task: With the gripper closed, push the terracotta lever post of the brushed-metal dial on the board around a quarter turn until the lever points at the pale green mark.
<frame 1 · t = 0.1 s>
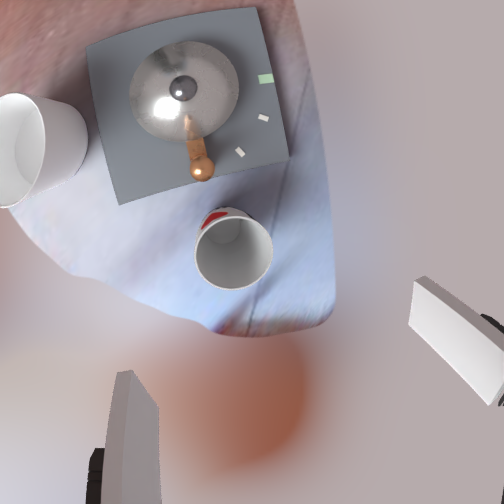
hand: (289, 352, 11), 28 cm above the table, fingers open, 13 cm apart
dial: (187, 105, 26), point 6 cm above the table, hinge at 0.0°
board: (184, 96, 30), on the table
cup 2: (52, 144, 28), on the table
cup: (222, 226, 38), on the table
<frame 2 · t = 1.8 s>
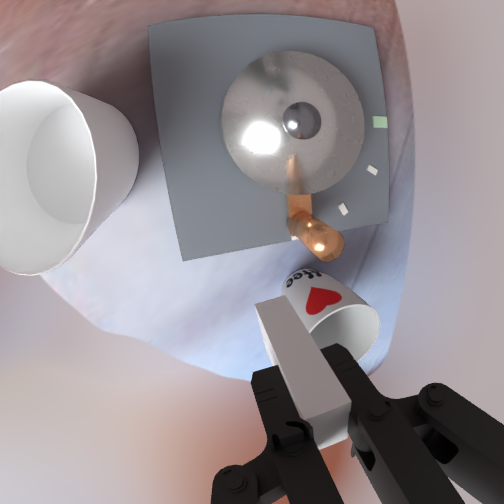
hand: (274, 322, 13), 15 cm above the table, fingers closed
dial: (307, 147, 20), point 6 cm above the table, hinge at 0.0°
board: (280, 123, 24), on the table
cup 2: (82, 161, 22), on the table
cup: (301, 288, 32), on the table
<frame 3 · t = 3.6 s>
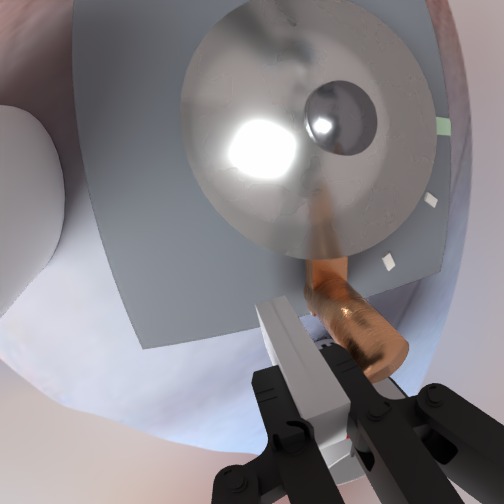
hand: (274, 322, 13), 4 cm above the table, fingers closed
dial: (352, 171, 10), point 6 cm above the table, hinge at 0.1°, touching gripper
board: (294, 123, 14), on the table
cup: (318, 360, 22), on the table
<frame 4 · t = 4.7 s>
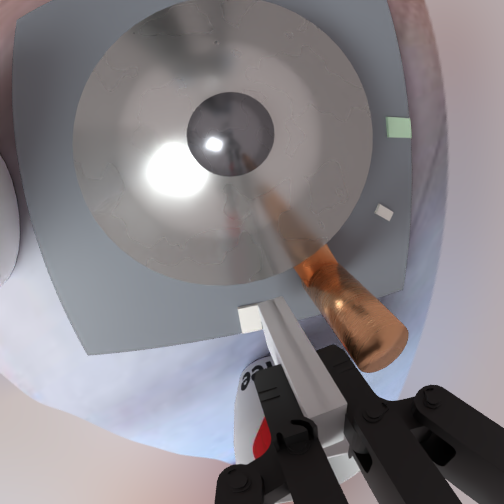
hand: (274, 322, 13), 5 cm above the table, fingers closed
dial: (267, 182, 10), point 6 cm above the table, hinge at 28.1°, touching gripper
board: (219, 137, 14), on the table
cup: (269, 376, 21), on the table
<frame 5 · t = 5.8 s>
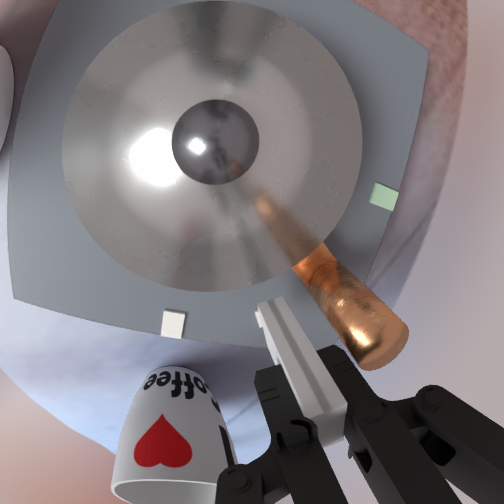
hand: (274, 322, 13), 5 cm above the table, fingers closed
dial: (255, 187, 10), point 6 cm above the table, hinge at 55.1°, touching gripper
board: (209, 142, 14), on the table
cup: (175, 385, 20), on the table
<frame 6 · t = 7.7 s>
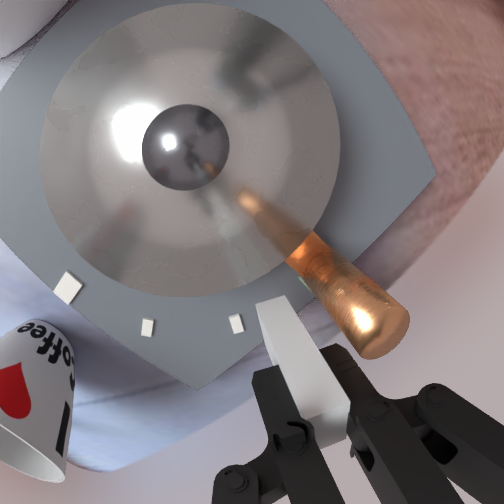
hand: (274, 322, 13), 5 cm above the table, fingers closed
dial: (231, 187, 9), point 6 cm above the table, hinge at 94.7°, touching gripper
board: (188, 146, 14), on the table
cup: (47, 344, 16), on the table
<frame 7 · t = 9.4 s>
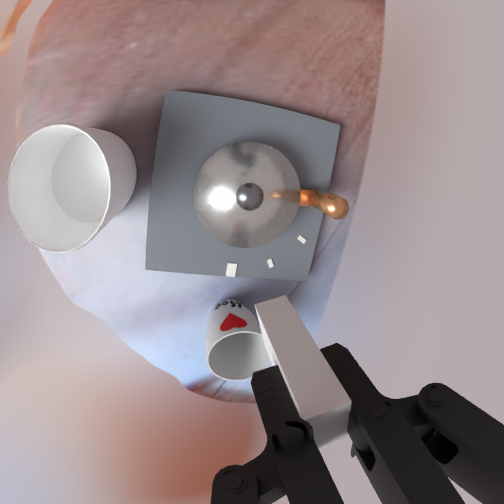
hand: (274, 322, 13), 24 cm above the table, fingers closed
dial: (269, 198, 30), point 6 cm above the table, hinge at 94.9°
board: (240, 189, 35), on the table
cup 2: (94, 175, 30), on the table
cup: (228, 313, 41), on the table
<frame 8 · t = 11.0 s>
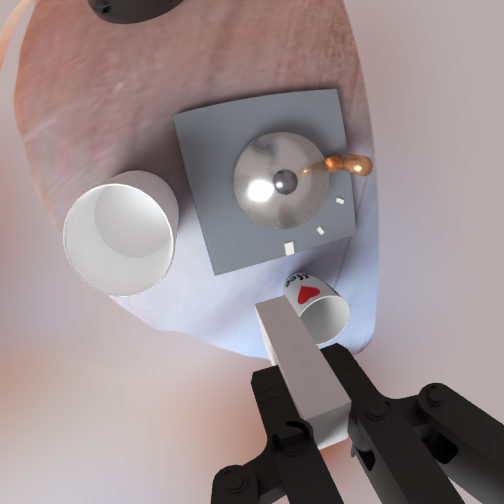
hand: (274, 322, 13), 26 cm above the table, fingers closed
dial: (302, 177, 32), point 6 cm above the table, hinge at 94.9°
board: (272, 176, 37), on the table
cup 2: (136, 213, 35), on the table
cup: (297, 286, 45), on the table
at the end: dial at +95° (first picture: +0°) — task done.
